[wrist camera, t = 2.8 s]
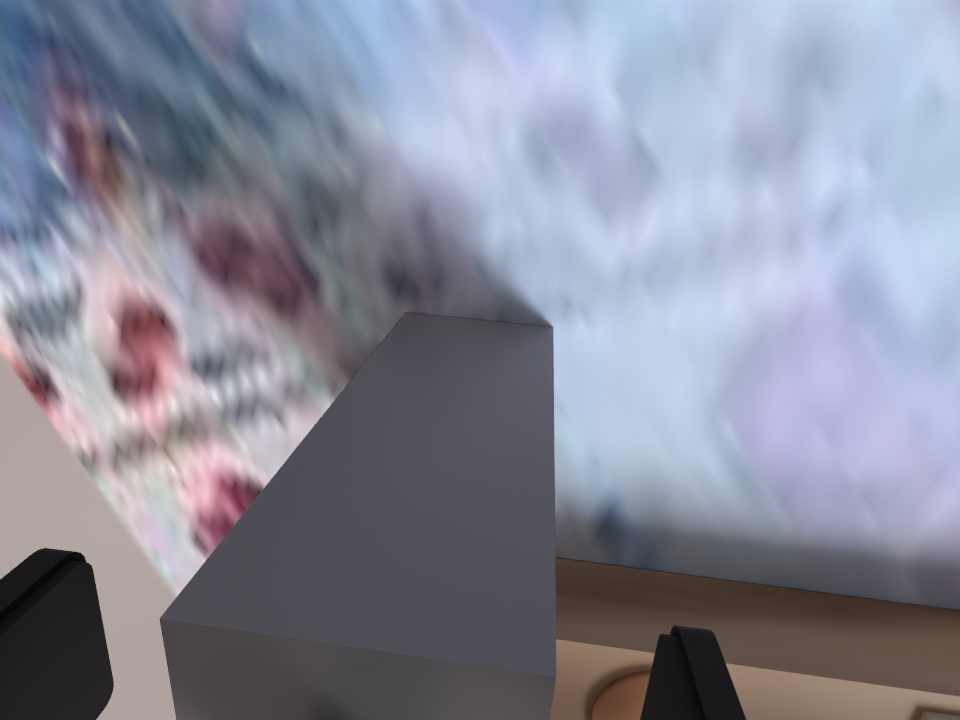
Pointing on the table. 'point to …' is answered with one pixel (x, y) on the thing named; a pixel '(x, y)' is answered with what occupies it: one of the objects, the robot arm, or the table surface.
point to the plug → (392, 548)
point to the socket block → (752, 647)
